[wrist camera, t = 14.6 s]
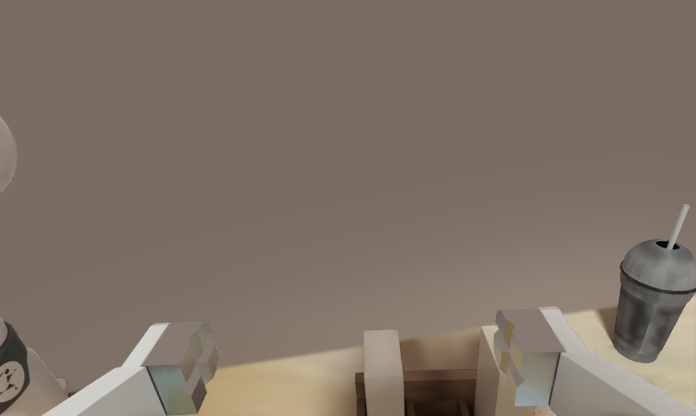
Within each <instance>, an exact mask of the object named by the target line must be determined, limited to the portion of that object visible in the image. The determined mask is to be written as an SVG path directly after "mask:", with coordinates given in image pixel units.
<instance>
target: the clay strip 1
mask: <svg viewBox="0 0 696 416" xmlns="http://www.w3.org/2000/svg"><path fill="white" fill-rule="evenodd" d="M364 383H365V394H366V405H367V416H404V383H403V370H402V361H401V353H400V345H399V337H398V330H374V331H373V330H372V331H364Z"/></svg>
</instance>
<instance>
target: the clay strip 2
mask: <svg viewBox="0 0 696 416" xmlns="http://www.w3.org/2000/svg"><path fill="white" fill-rule="evenodd" d="M498 329H499V328H498V326H481V334H480V346H479V358H478V369H477V381H476V392H475V404H474V416H533V414H534V408H535V406H514V404H513V401H512V399H511V396H510V394H509V391H508V389H507V387H506V384H505V382H506V374H505V373H503V372H502V371H501V370H500V369H499V367H498V364H497V361H496V358H495V354H494V345H493V342H494V333H495V332H496V331H497V330H498Z"/></svg>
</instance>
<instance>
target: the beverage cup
mask: <svg viewBox="0 0 696 416" xmlns="http://www.w3.org/2000/svg"><path fill="white" fill-rule="evenodd" d="M688 208H689V205H687V204H684V205H683V208H682V210H681V213H680V215H679V218H678V221H677V223H676V226H675V228H674V231H673V233H672V236H671V238H670V241H668V240H662V239H655V240H648V241H645V242H642V243H640V244H638V245H637V246H635V247H633V248H632V249H631V250H630V251H629V252H628V253H627V255H626V256H625V258H624V260H623V261H622V263H621V266H620V269H621V273H620V280H621V290H620V296H619V303H618V310H617V317H616V324H615V331H614V347H615V348H616V350H617V351H618V352H619V353H620V354H622V355H623V356H625V357H626V358H628V359H630V360H633V361H636V362H641V363H650V362H653V361H655V360H656V358H657V355H658V354H659V353H660V351H661V350H662V349H663V347H664V345H665V343H666V341H667V339H668V337H669V336H670V334H671V332H672V330H673V328H674V326H675V324H676V322H677V320H678V318H679V317H680V315H681V313H682V311H683V309H684V307H685V305H686V303H687V302H689V301H690V299H691V298H692V297H693V295H694V294H695V292H696V258H695V257H694V256H693V254H692V253H691V252H690V251H689V250H688V249H686V248H685V247H683V246H682V245H680V244H678V243H676V242H675V241H676V238H677V236H678V233H679V231H680V228H681V226H682V223H683V221H684V218H685V216H686V213H687V210H688Z"/></svg>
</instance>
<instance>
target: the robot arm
mask: <svg viewBox="0 0 696 416" xmlns="http://www.w3.org/2000/svg"><path fill="white" fill-rule="evenodd" d="M16 164H17V149H16V144H15V141H14V138H13V136H12V133H11V131H10V129H9V128H8V126H7V125H6V123H5V122H4V121H3V119H2V118H1V117H0V192H2V191H4V190H5V189H6V187H7V186H8V184H9V183H10V181H11V179H12V177H13V175H14V172H15V169H16ZM495 322H496V324H497V326H498V328H499V329H498V330H497V331H496V332H495V333H494V342H493V345H494V354H495V358H496V361H497V364H498V367H499V369H500V370H501V371H502V372H503V373H505V374H506V382H505V384H506V387H507V389H508V391H509V394H510V396H511V399H512V401H513V404H514V406H549V408H550V409H551V410H552V411H553V412H554V413H555V414H556V415H557V416H696V410H695V409H693V408H692V407H690V406H688V405H686V404H685V403H683V402H681V401H679V400H678V399H676V398H674V397H673V396H671V395H669V394H667V393H666V392H664V391H662V390H661V389H659V388H657V387H655V386H654V385H652V384H650V383H649V382H647V381H645V380H643V379H642V378H640V377H638V376H637V375H635V374H633V373H631V372H630V371H628V370H626V369H625V368H623V367H621V366H619V365H618V364H616V363H614V362H613V361H611V360H609V359H607V358H606V357H604V356H602V355H601V354H599V353H597V352H589V350H588V349H587V347H586V346H585V345H584V343H583V342H582V341H581V339H580V338H579V336H578V335H577V334H576V332H575V331H574V329H573V328H572V327H571V325H570V324H569V322H568V321H567V320H566V318H565V317H564V315H563V314H562V313H561V312H560V310H559V309H558V308H557V307H540V308H527V309H506V310H498V311H497V313H496V320H495ZM211 333H212V331H211V329H210V326H209V323H206V322H173V323H155V324H154V325H152V326H151V327H150V328H149V329H148V331H147V332H146V334H145V335H144V336H143V338H142V339H141V340H140V342H139V343H138V344H137V346H136V347H135V349H134V350H133V351H132V353H131V354H130V355H129V357H128V358H127V360H126V361H125V362H124V364H123V365H122V367H118V368H114V369H113V370H111V371H110V372H108V373H106V374H105V375H103V376H102V377H100V378H99V379H97V380H96V381H94V382H93V383H91V384H90V385H88V386H87V387H85V388H83V389H82V390H80V391H79V392H77V393H76V394H74V395H73V396H71V397H70V398H69V396H68V394H69V384H68V382H67V381H66V380H65V379H64V378H62V377H60V378H55V377H54V375H53V374H52V373H51V372H50V370H49V369H48V368H47V366H46V365H45V364H44V363H43V361H42V360H41V359H40V358H39V356H38V355H37V354H36V353H35V351H34V350H32V349H30V348H26V347H25V345H24V344H23V343H22V338H21V337H20V335H19V333H18V332H17V331H15V330H14V328H13V327H12V326H11V325H10V324H9V323H7V322H5V321H3V320H2V319H1V317H0V416H167V415H186V414H198V411H199V409H200V407H201V404H202V402H203V400H204V398H205V395H206V393H207V391H206V388H205V385H206V384H207V383H208V382H209V381H210V380H211V379H213V377H214V374H215V372H216V369H217V362H218V353H217V348H216V344H215V343H213V342H212V341H211V340H210V339H209V337H210V335H211Z"/></svg>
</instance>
